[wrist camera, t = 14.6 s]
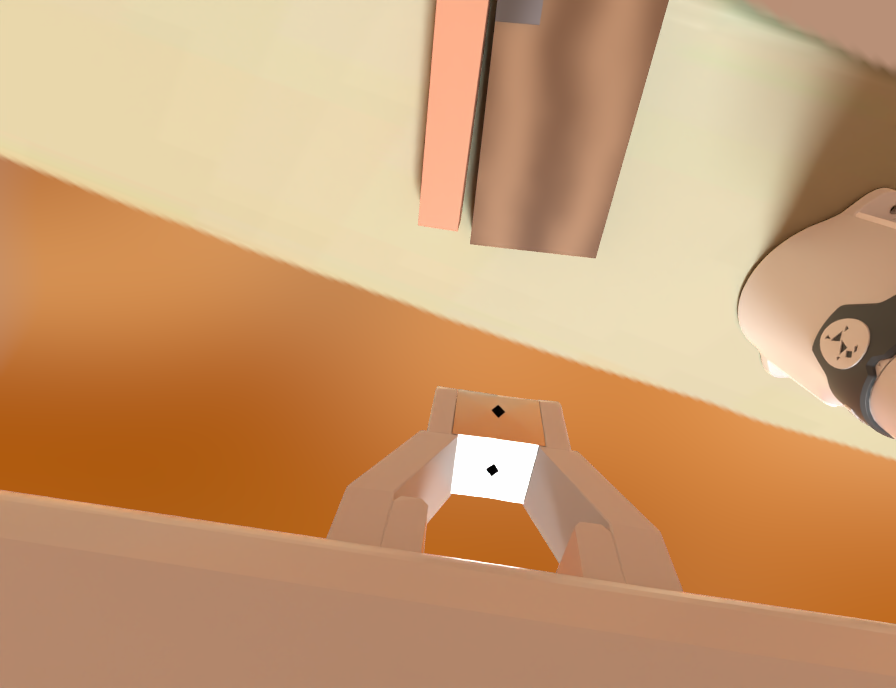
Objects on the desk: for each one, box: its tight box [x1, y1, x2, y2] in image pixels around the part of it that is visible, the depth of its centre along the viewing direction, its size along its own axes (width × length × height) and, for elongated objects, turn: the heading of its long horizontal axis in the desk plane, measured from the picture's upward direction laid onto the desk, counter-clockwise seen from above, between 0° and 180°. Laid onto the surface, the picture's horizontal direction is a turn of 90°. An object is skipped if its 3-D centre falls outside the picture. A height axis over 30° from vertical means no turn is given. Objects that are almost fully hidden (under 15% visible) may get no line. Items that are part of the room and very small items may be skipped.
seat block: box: [470, 0, 669, 258], centre depth 32 cm, size 11×20×4 cm, turn 175°
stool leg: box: [418, 0, 490, 231], centre depth 32 cm, size 18×4×4 cm, turn 173°
